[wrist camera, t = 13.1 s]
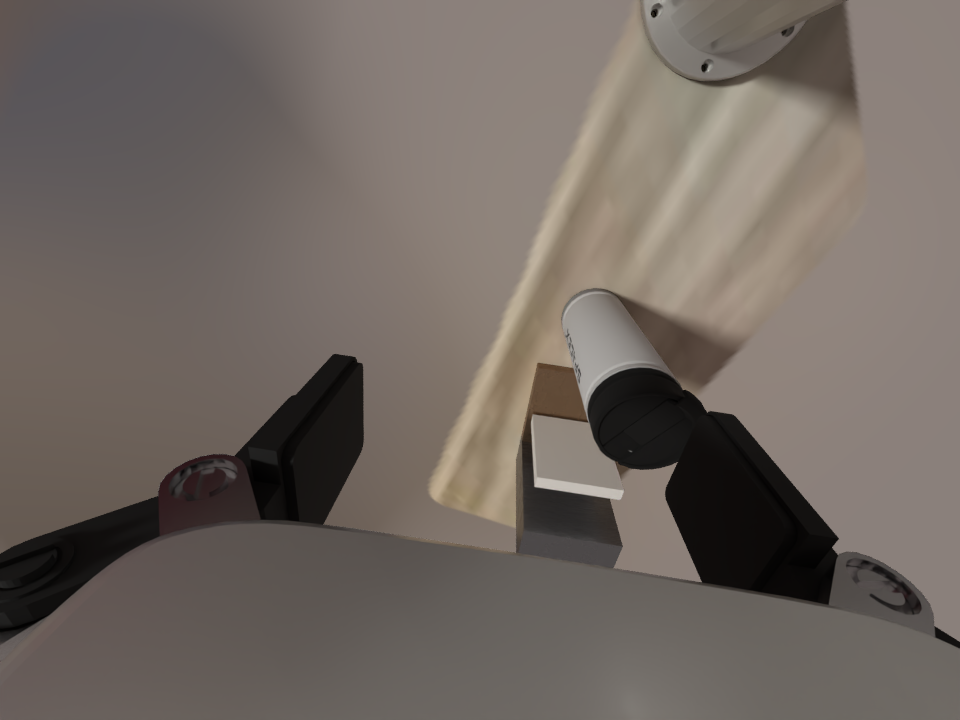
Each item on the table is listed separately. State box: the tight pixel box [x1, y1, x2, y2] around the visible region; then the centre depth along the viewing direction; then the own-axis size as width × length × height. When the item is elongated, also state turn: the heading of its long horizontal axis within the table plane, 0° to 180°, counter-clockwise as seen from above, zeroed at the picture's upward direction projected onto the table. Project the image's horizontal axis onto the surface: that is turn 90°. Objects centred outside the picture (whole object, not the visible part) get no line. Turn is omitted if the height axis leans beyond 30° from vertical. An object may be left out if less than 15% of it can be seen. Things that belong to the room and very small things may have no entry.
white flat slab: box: [531, 414, 624, 500], centre depth 41 cm, size 1×9×10 cm, turn 82°
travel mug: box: [561, 288, 707, 470], centre depth 32 cm, size 6×7×20 cm
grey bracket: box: [516, 363, 623, 568], centre depth 41 cm, size 14×9×14 cm, turn 173°
